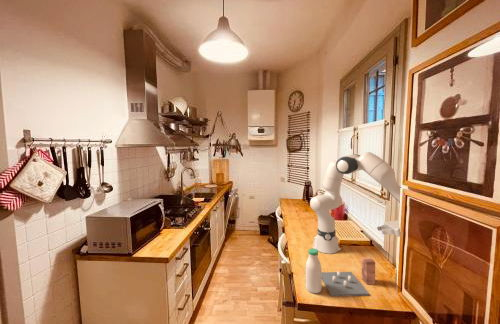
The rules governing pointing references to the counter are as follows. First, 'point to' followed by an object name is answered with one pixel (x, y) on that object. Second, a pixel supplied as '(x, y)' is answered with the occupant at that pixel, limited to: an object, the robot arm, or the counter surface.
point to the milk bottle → (313, 272)
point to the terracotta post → (368, 270)
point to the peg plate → (343, 284)
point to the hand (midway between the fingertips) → (379, 230)
